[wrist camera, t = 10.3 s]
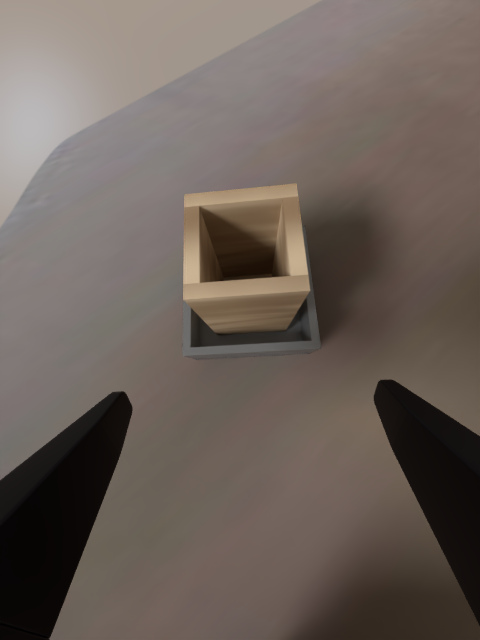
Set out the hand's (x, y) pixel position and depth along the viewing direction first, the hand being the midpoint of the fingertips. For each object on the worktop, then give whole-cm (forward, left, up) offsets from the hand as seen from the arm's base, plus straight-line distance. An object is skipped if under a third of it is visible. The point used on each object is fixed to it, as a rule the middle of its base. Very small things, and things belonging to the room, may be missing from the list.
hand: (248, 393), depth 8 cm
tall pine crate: (+6, -4, -12) cm, 14 cm away
